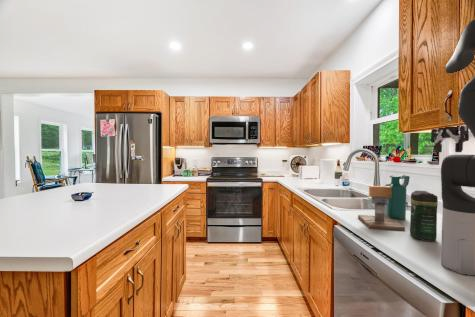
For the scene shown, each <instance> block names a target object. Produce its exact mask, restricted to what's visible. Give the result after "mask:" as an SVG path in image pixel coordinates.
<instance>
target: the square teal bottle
mask: <svg viewBox="0 0 475 317" xmlns="http://www.w3.org/2000/svg"><path fill="white" fill-rule="evenodd" d="M389 178H391V180H390V181H391V182H389V183H386V184H385V185H384V186H390V187H392V198H389V204H388V205H385V216H387V217H390V218H391V219H393V220H405V219H406V218H407V217H406V216H407V215H406V213H407V187H408V186H409V183H410V176H409V175H405V174H403V175H389ZM400 180H403V183H402V184H401V183H400Z"/></svg>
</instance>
